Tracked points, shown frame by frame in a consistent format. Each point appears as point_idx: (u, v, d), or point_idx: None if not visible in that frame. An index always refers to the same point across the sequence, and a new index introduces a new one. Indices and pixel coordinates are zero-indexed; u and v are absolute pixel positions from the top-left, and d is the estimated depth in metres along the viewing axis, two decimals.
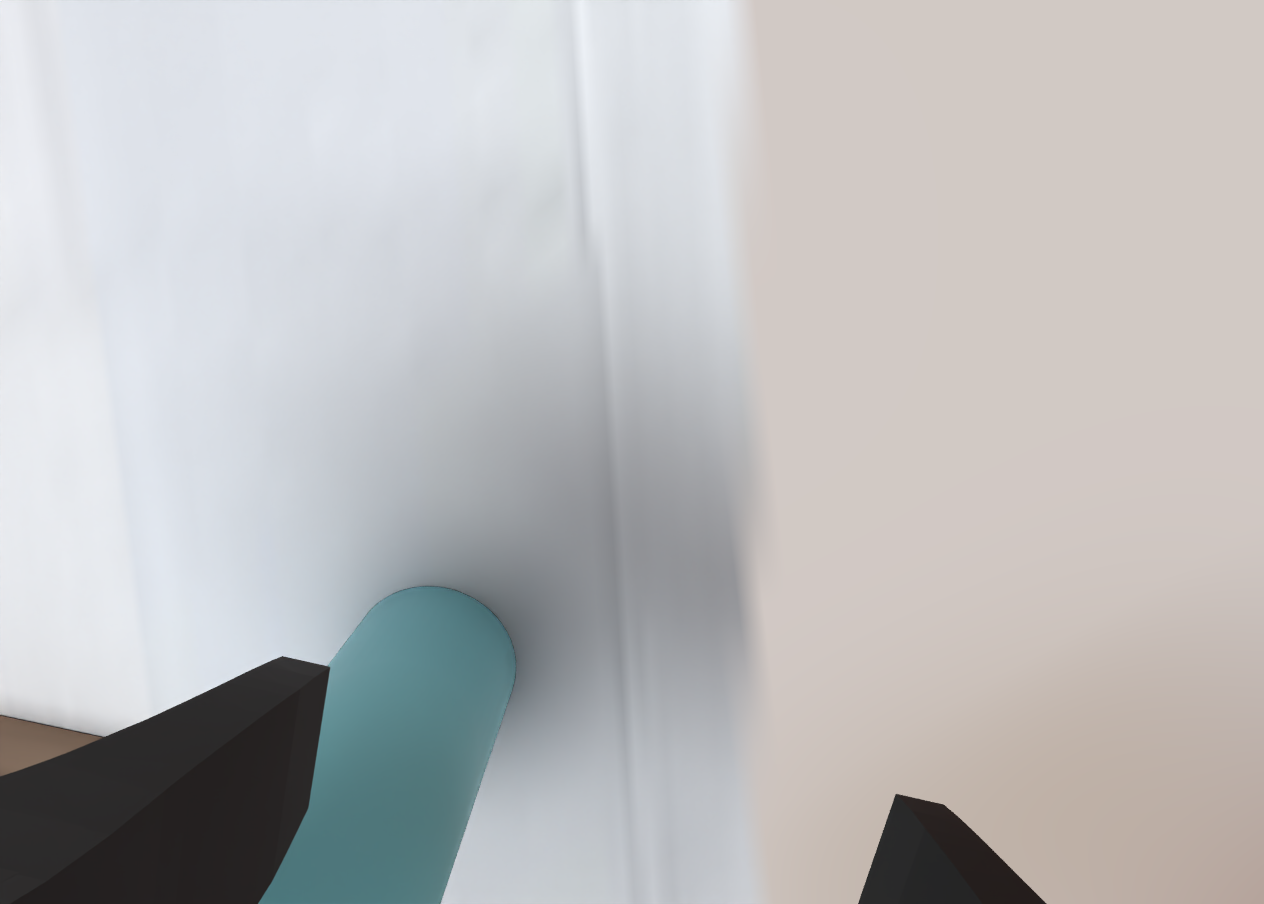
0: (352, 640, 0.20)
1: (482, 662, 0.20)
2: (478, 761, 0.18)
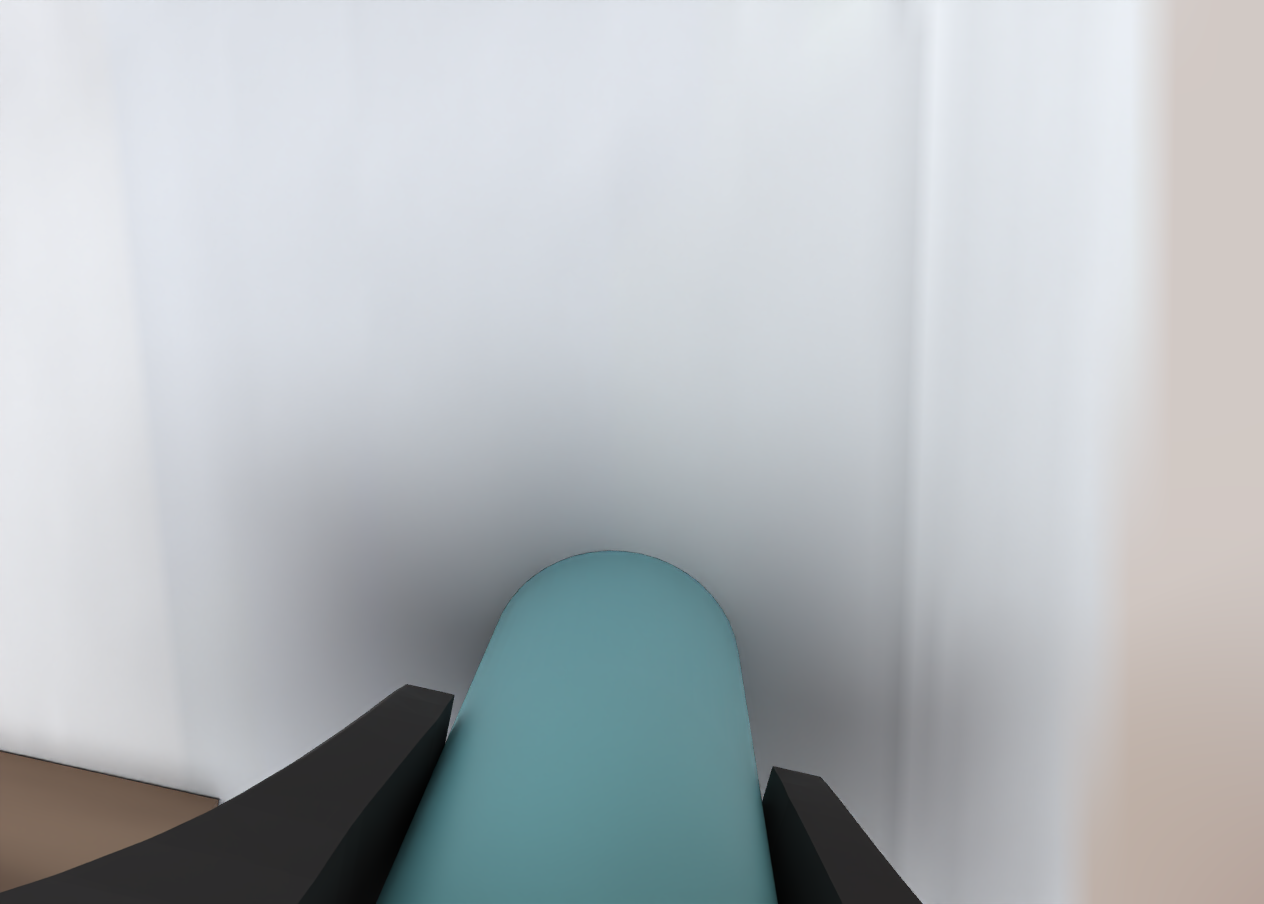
0: (519, 631, 0.12)
1: (727, 668, 0.12)
2: None
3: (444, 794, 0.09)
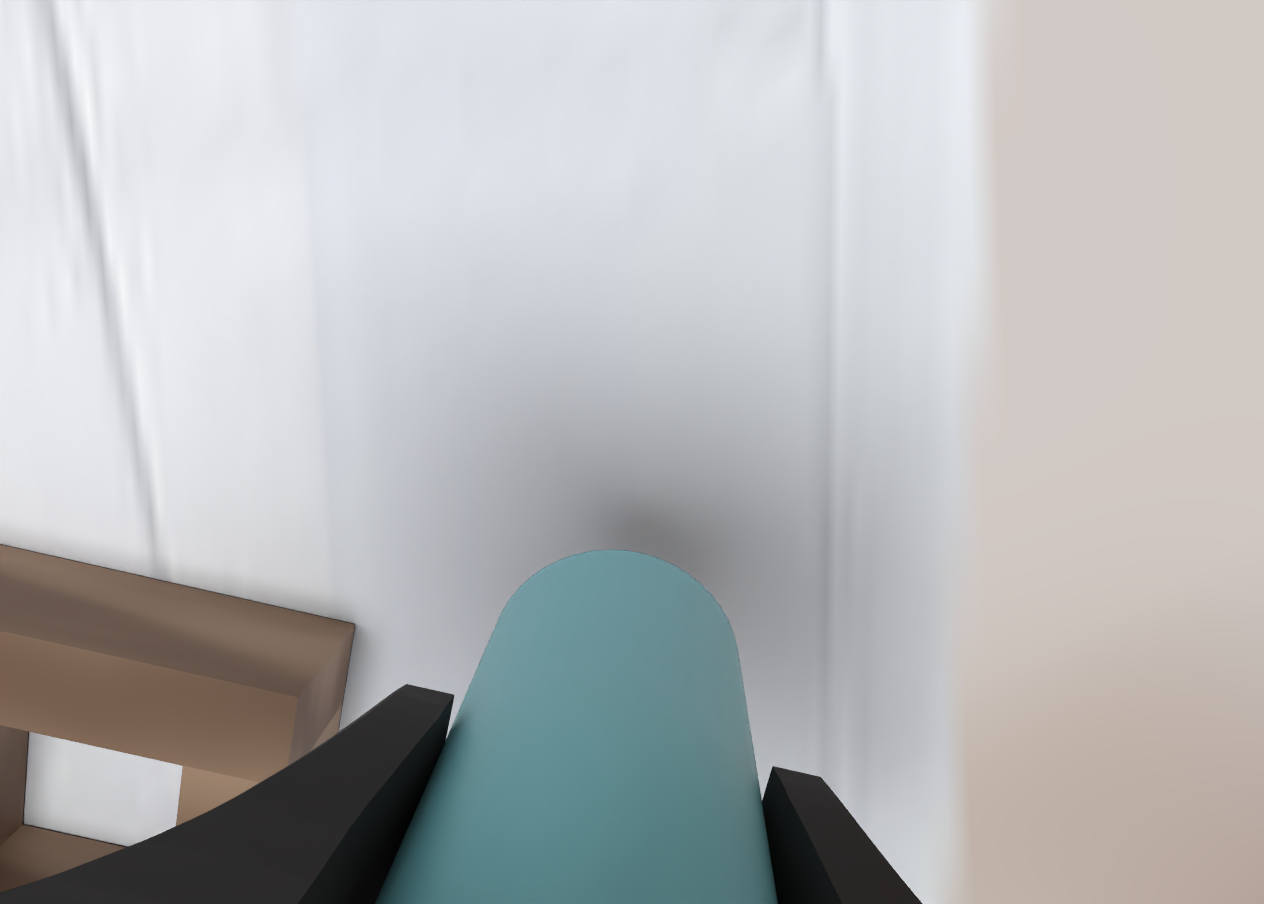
0: (519, 629, 0.12)
1: (726, 667, 0.12)
2: None
3: (444, 793, 0.09)
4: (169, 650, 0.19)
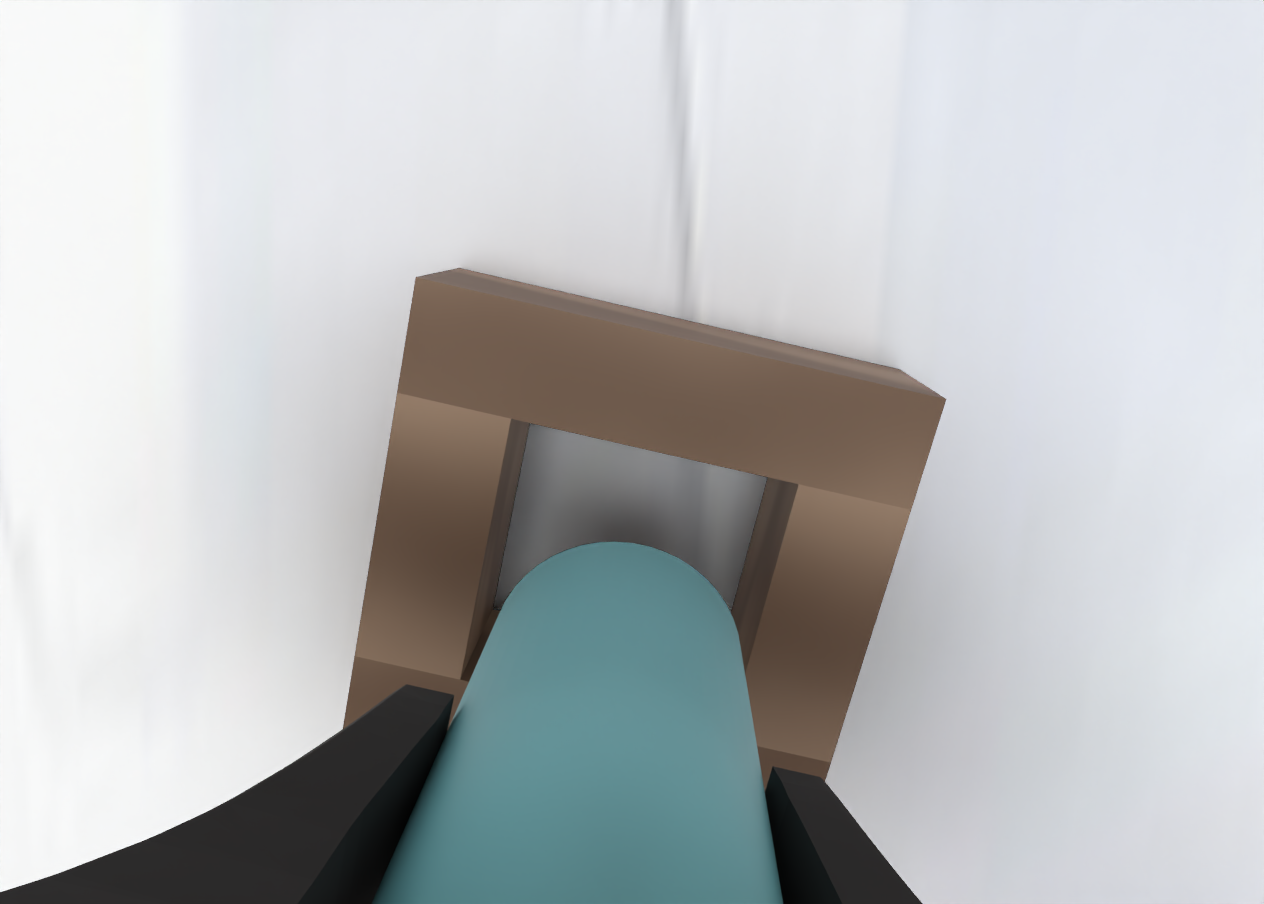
0: (526, 616, 0.12)
1: (733, 663, 0.12)
2: None
3: (453, 777, 0.09)
4: (781, 357, 0.17)
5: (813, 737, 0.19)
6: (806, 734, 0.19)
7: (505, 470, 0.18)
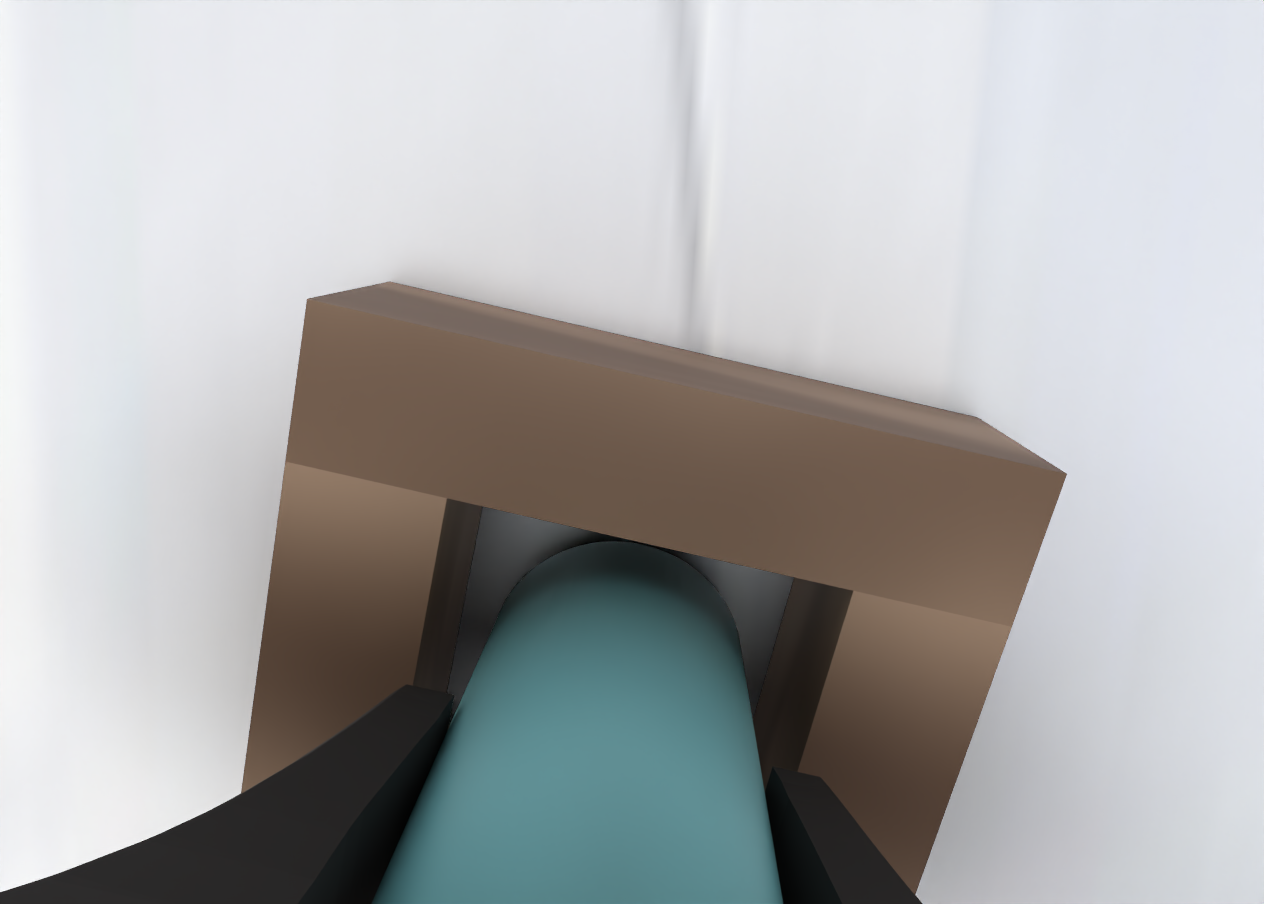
0: (526, 616, 0.12)
1: (732, 663, 0.12)
2: None
3: (453, 776, 0.09)
4: (829, 411, 0.12)
5: None
6: None
7: (444, 563, 0.13)
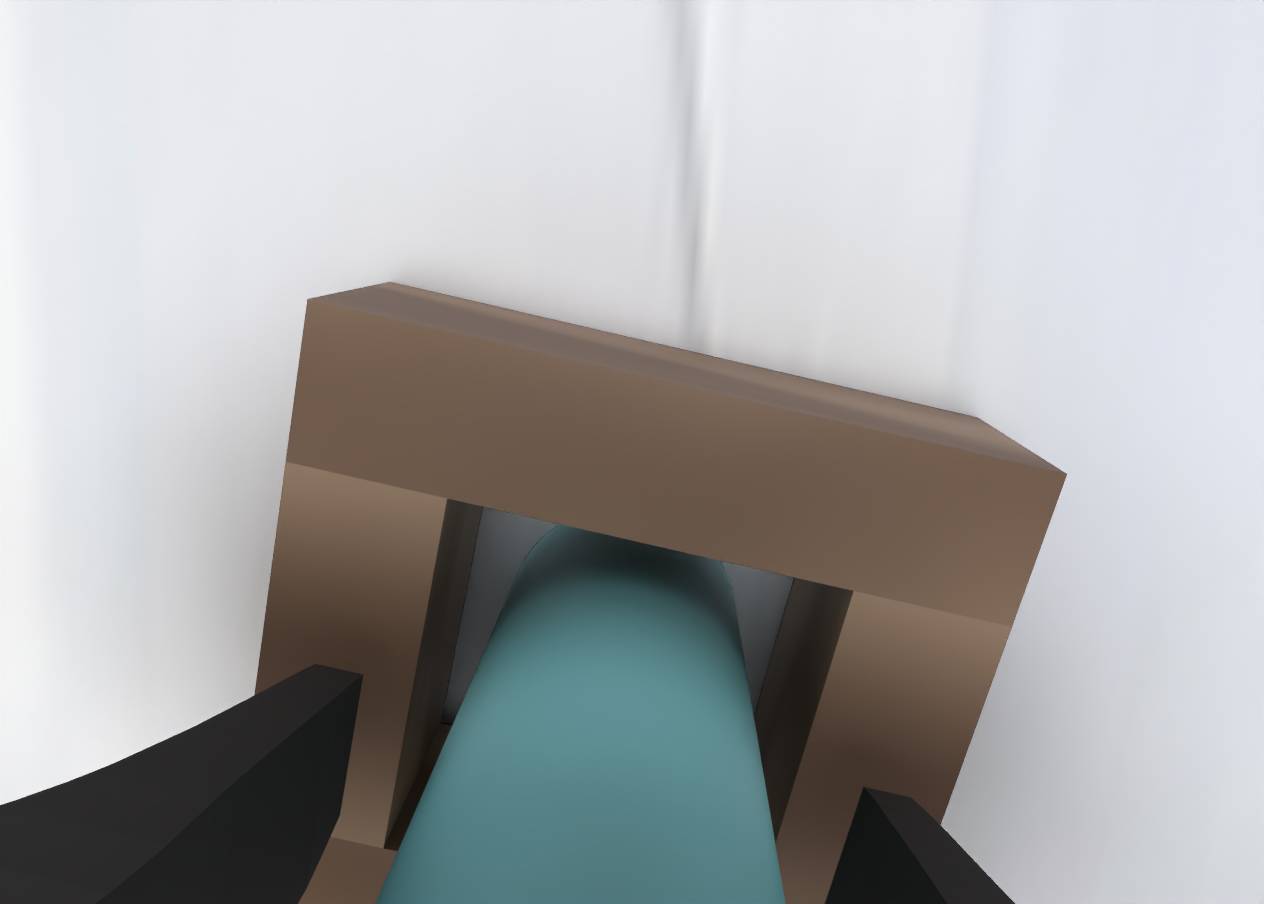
0: (546, 567, 0.14)
1: (727, 609, 0.14)
2: None
3: (491, 686, 0.11)
4: (829, 411, 0.12)
5: None
6: None
7: (444, 563, 0.13)
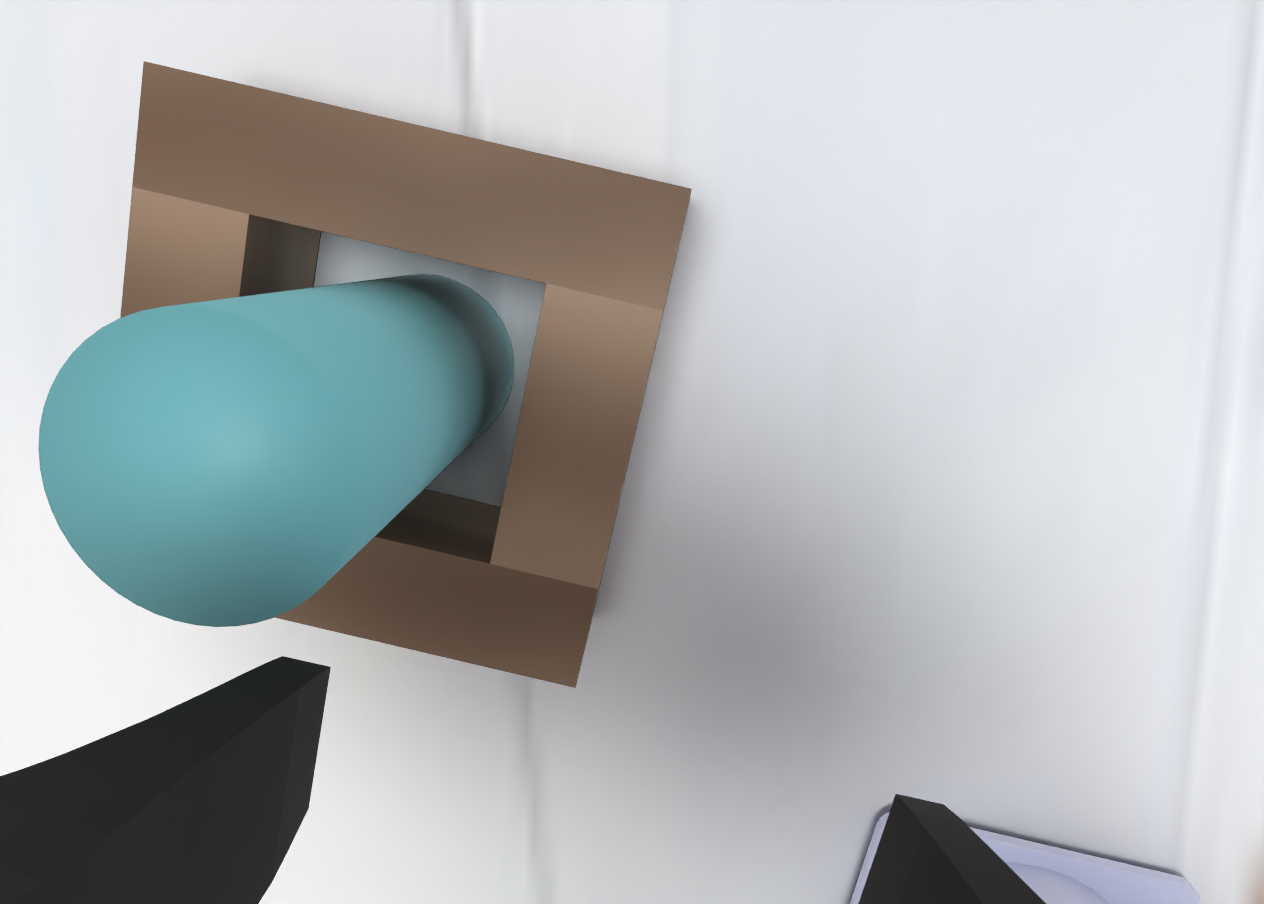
0: None
1: (479, 326, 0.18)
2: (469, 391, 0.16)
3: None
4: None
5: (579, 561, 0.18)
6: (571, 558, 0.18)
7: (258, 279, 0.18)
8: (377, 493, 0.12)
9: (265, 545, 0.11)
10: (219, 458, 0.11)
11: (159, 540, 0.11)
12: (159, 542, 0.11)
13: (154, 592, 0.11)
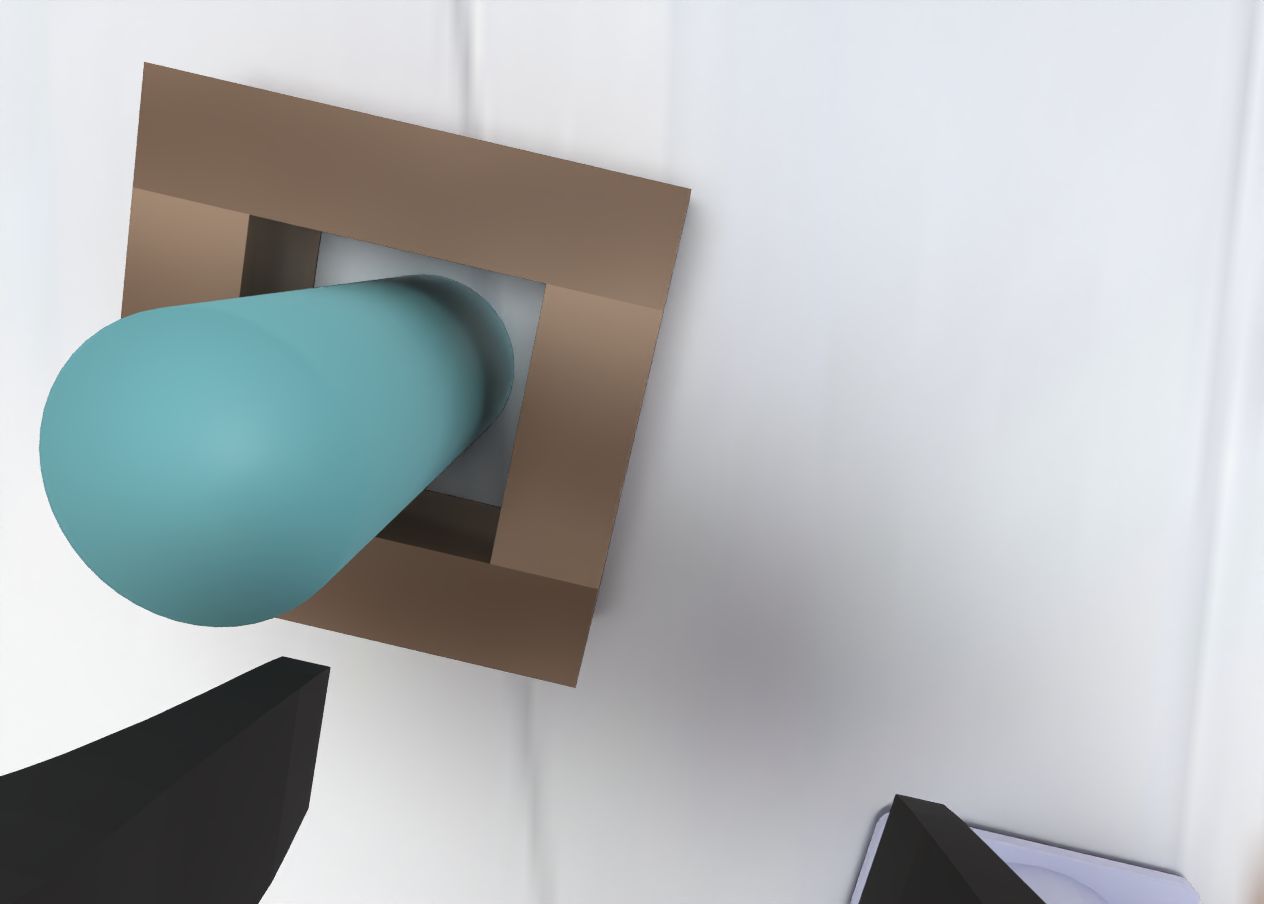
0: None
1: (479, 326, 0.18)
2: (470, 392, 0.16)
3: None
4: None
5: (579, 561, 0.18)
6: (571, 558, 0.18)
7: (258, 280, 0.18)
8: (377, 494, 0.12)
9: (266, 546, 0.11)
10: (220, 460, 0.11)
11: (159, 540, 0.11)
12: (160, 543, 0.11)
13: (155, 593, 0.11)
